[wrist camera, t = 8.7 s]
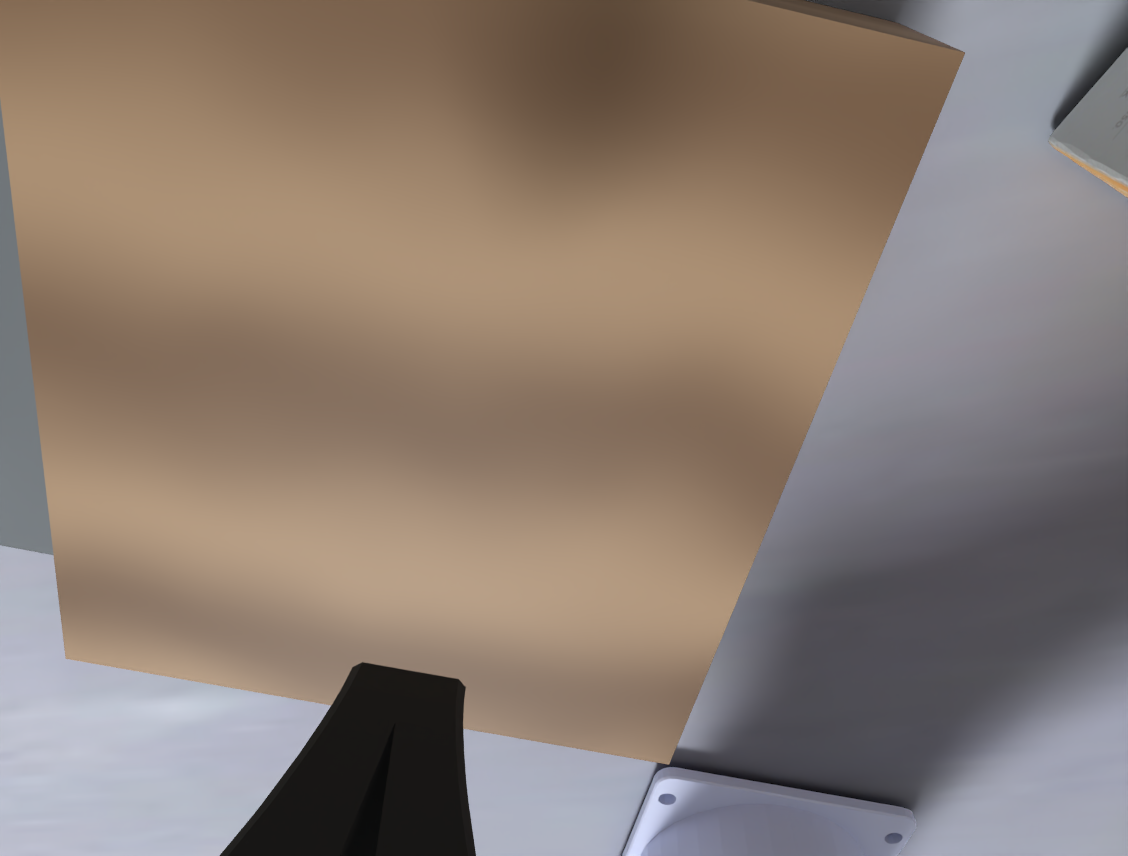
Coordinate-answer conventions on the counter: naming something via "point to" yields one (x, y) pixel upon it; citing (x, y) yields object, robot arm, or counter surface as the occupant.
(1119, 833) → the counter surface
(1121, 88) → the small box
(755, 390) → the brown flat block
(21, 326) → the mat
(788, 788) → the robot arm
